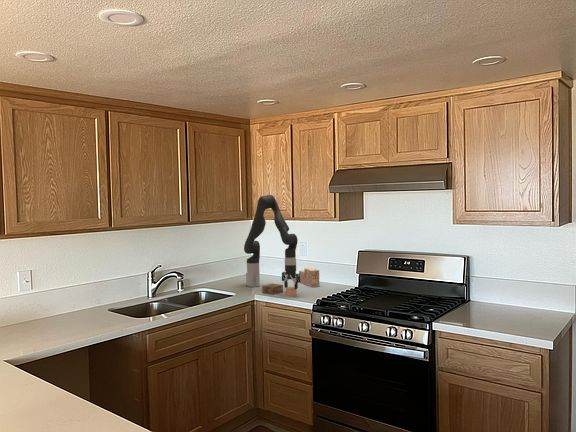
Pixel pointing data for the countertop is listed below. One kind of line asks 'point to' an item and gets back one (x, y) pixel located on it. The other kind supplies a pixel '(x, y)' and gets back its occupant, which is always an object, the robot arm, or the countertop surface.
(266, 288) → the walnut block
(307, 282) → the stack of blocks
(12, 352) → the countertop surface
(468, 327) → the countertop surface
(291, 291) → the terracotta cube
